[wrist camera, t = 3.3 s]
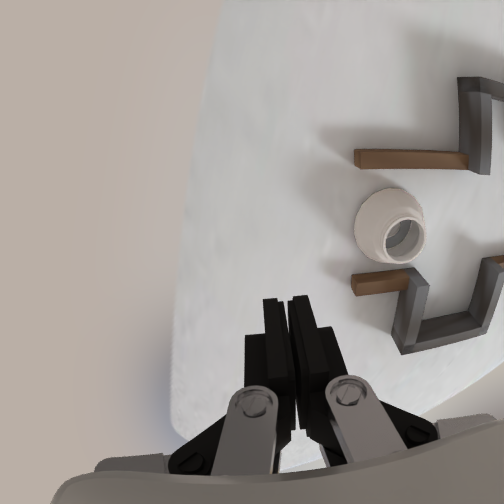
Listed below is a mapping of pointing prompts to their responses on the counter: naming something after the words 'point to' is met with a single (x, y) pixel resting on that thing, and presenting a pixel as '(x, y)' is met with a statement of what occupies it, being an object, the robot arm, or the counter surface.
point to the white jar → (390, 226)
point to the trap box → (410, 280)
